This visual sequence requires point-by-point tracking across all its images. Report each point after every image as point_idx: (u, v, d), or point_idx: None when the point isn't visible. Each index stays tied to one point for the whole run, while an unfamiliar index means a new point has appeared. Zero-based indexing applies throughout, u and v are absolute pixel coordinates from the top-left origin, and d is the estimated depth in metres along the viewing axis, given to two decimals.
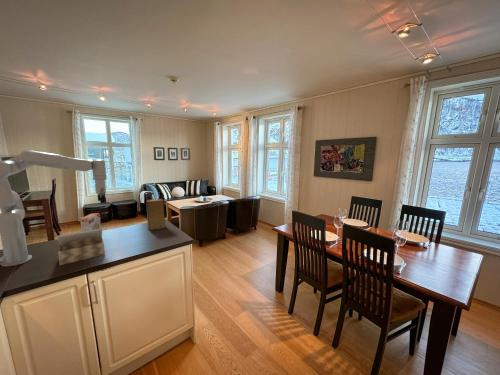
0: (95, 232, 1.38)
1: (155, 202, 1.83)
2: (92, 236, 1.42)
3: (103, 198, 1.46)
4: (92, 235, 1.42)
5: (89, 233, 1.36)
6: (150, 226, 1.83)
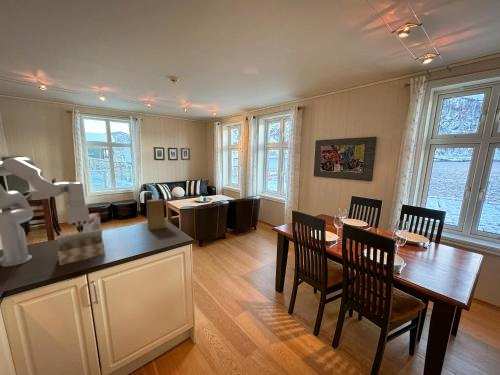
0: (95, 232, 1.38)
1: (155, 202, 1.83)
2: (92, 236, 1.42)
3: None
4: (92, 235, 1.42)
5: (89, 233, 1.36)
6: (150, 226, 1.83)
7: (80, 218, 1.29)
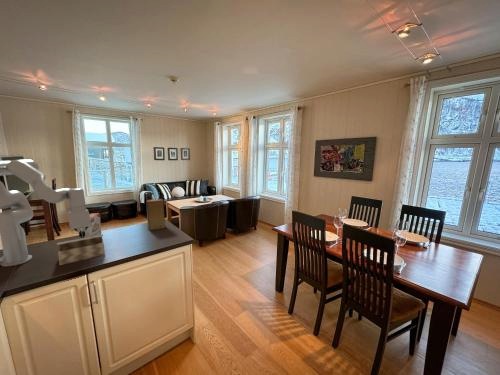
0: None
1: (155, 202, 1.83)
2: None
3: (84, 231, 1.33)
4: None
5: (90, 238, 1.35)
6: (150, 226, 1.83)
7: (82, 224, 1.30)
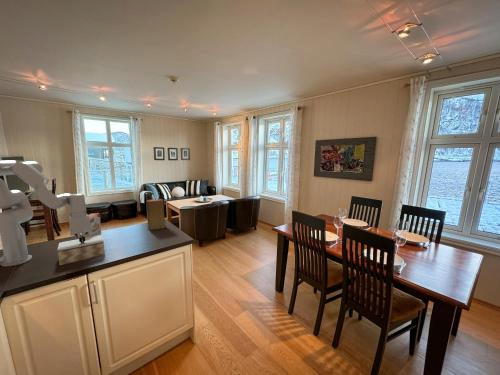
0: None
1: (155, 202, 1.83)
2: None
3: None
4: None
5: None
6: (150, 226, 1.83)
7: (82, 229, 1.30)
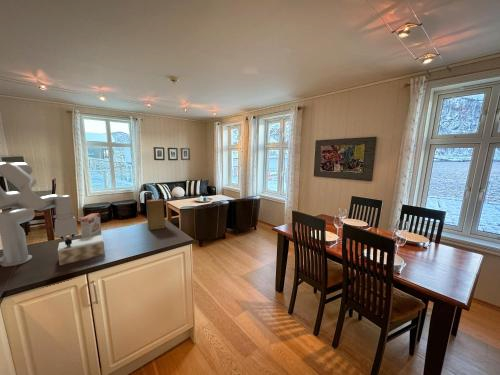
0: None
1: (155, 202, 1.83)
2: None
3: None
4: None
5: None
6: (150, 226, 1.83)
7: (68, 232, 1.26)
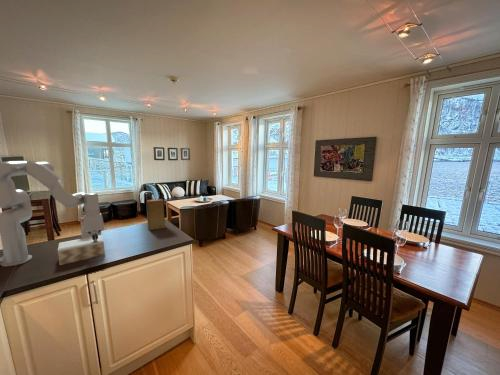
0: None
1: (155, 202, 1.83)
2: None
3: (97, 234, 1.38)
4: None
5: None
6: (150, 226, 1.83)
7: (95, 227, 1.35)
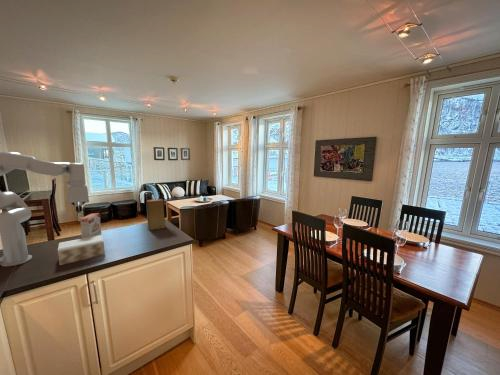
0: None
1: (155, 202, 1.83)
2: None
3: (81, 206, 1.35)
4: None
5: None
6: (150, 226, 1.83)
7: (79, 198, 1.31)
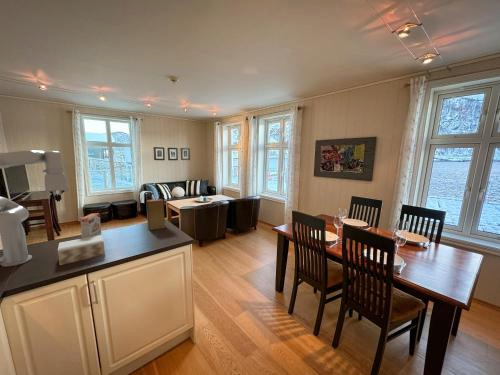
0: None
1: (155, 202, 1.83)
2: None
3: None
4: None
5: None
6: (150, 226, 1.83)
7: (58, 187, 1.30)
